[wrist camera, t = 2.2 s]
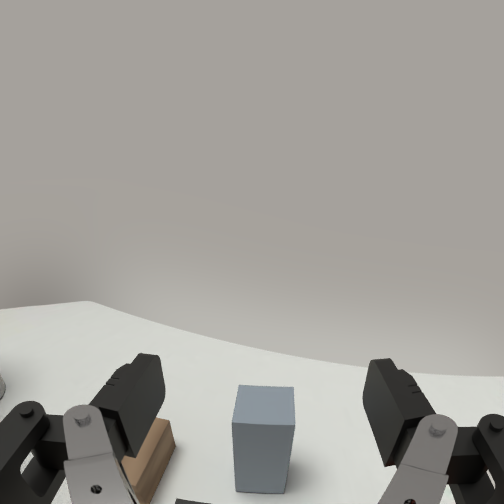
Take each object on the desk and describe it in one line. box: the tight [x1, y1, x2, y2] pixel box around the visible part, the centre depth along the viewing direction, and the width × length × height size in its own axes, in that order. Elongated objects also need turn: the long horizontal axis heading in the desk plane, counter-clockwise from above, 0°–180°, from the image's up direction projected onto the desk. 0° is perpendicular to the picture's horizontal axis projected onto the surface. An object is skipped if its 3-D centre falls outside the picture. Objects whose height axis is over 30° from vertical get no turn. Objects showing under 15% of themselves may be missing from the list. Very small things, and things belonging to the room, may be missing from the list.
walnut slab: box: [121, 418, 176, 504], centre depth 26 cm, size 10×10×5 cm
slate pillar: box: [232, 385, 295, 493], centre depth 25 cm, size 5×5×12 cm
